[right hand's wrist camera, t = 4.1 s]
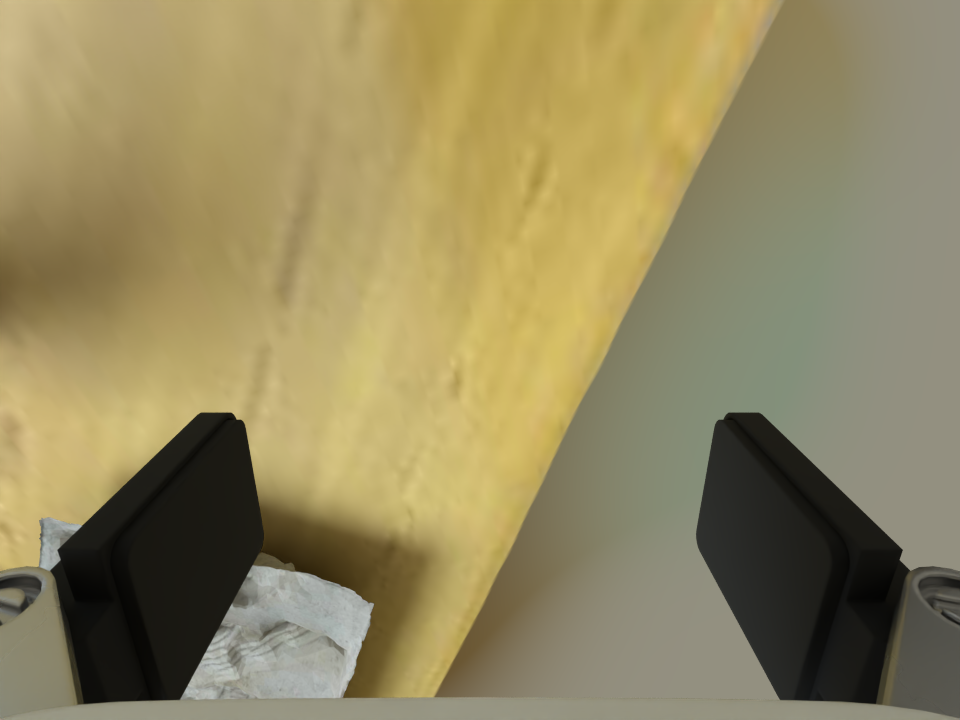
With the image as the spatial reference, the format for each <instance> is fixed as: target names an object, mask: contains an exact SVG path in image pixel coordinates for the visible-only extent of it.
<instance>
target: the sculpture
mask: <svg viewBox="0 0 960 720" xmlns="http://www.w3.org/2000/svg"><path fill="white" fill-rule="evenodd" d="M39 522H40V526H41V534H40V536H41V537H40V538H39V539H40V540H41V549H40V562H39V567H41V568H44V569H46V570H48V571H50V570H51V569H52V568H53V567H54V566H55V565H56V564H57V563H58V562H59V561H60V557H59V554H58V551H57V550H58V549H59V548H60V547H61V546H62V545H63V544H64V543H65V542H66V541H67V540H68V539H69V538H70V537H71V536H72V535H73V534H74V533H75V532H76V531H77V530H78V529H79V528H81V527H82V526H81V525H78V524H77V525H76V524H72V523H71V524H68V523H66V522H61V521H59V520H56V519H53V518H50V517H48V518H45V519H43V518H42V519H41V520H39ZM373 606H374V604H373V603H369V604H368V602H367V601H365V600H363V599H362V597H361V596H359V595H357V594H356V593H355V591H353V590H351V589H349V588H346V587H341V586H340V585H339V584H336V583H333V582H329V581H326V580H323V579H321V578H318V577H317V576H315V575H311V574H308V573H301V572H297V571H296V570H295V568H294V565H293V564H292V563H287V564H284V563H282V562H281V561H279V560H278V559H277V558H276V557H274V556H271V555H268V554H266V553H263V552H262V553H259V554H258V556H257V558H256V560H255V562H254V564H253V566H252V567H251V569H250V571H249V573H248V575H247V577H246V578H245V580H244V582H243V584H242V586H241V588H240V590H239V591H238V593H237V595H236V597H235V599H234V601H233V603H232V604H231V606H230V608H229V610H228V612H227V614H226V616H225V617H224V619H223V621H222V623H221V625H220V627H219V629H218V630H217V632H216V634H215V636H214V638H213V640H212V642H211V643H210V645H209V647H208V649H207V651H206V653H205V655H204V656H203V658H202V660H201V662H200V664H199V666H198V668H197V669H196V671H195V673H194V675H193V677H192V679H191V681H190V682H189V684H188V686H187V688H186V690H185V692H184V694H183V695H182V697H181V699H180V700H207V699H273V698H343V696H344V693H345V691H346V688H347V686H348V683H349V681H350V679H352V676H353V674H354V669H355V667H356V659H357V656H358V654H359V651H360V649H361V647H362V640H363V641H364V639H365V636H366V633H367V631H368V628H369V626H370V623H371V622H370V619H371V616H370V614H371V612H372V609H373Z"/></svg>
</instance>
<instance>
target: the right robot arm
mask: <svg viewBox="0 0 960 720" xmlns="http://www.w3.org/2000/svg"><path fill="white" fill-rule="evenodd" d="M263 539H264V531H263V525H262V519H261V513H260V507H259V502H258V496H257V490H256V485H255V479H254V473H253V467H252V462H251V456H250V450H249V444H248V439H247V433H246V428H245V424H244V422H243V421H242V420H236V417H235V416H234V414H232V413H200V414H198V415H197V416H196V417H195V418H194V419H193V420H192V421H191V422H190V423H189V424H188V425H187V426H186V427H184V428H183V429H182V430H181V431H180V432H179V433H178V434H177V435H176V436H175V437H174V438H173V439H172V440H171V441H170V442H169V443H168V444H167V445H166V446H165V447H164V448H163V449H162V450H161V451H160V452H158V453H157V454H156V455H155V456H154V457H153V458H152V459H151V460H150V461H149V462H148V463H147V464H146V465H145V466H144V467H143V468H142V469H141V470H140V471H139V472H138V473H137V474H136V475H135V476H134V477H133V478H131V479H130V480H129V481H128V482H127V483H126V484H125V485H124V486H123V487H122V488H121V489H120V490H119V491H118V492H117V493H116V494H115V495H114V496H113V497H112V498H111V499H110V500H109V501H108V502H107V503H105V504H104V505H103V506H102V507H101V508H100V509H99V510H98V511H97V512H96V513H95V514H94V515H93V516H92V517H91V518H90V519H89V520H88V521H87V522H86V523H85V524H84V525H83V526H82V527H81V528H79V529H78V530H77V531H76V532H75V533H74V534H73V535H72V536H71V537H70V538H69V539H68V540H67V541H66V542H65V543H64V544H63V545H62V546H61V547H60V548H59V549H58V550H57V551H58V554H59V557H60V561H59V562H58V563H57V564H56V565H55V566H54V567H53V568H52V569H51V570H50V571H48V570H46V569H44V568H41V567H28V566H26V567H19V568H12V569H7V570H4V571H0V720H960V571H956V570H953V569H948V568H941V567H934V566H932V567H919V568H916V569H914V570H912V571H910V570H909V569H908V568H907V567H906V566H905V565H904V564H903V563H902V562H901V561H900V557H901V554H902V551H903V550H902V549H901V548H900V547H899V546H898V545H897V544H896V543H895V542H894V541H893V540H892V539H891V538H890V537H889V536H888V535H887V534H886V533H885V532H884V531H883V530H881V528H879V527H878V526H877V525H876V524H875V523H874V522H873V521H872V520H871V519H870V518H869V517H868V516H867V515H866V514H865V513H864V512H863V511H862V510H861V509H860V508H859V507H858V506H857V505H856V504H854V503H853V502H852V501H851V500H850V499H849V498H848V497H847V496H846V495H845V494H844V493H843V492H842V491H841V490H840V489H839V488H838V487H837V486H836V485H835V484H834V483H833V482H832V481H831V480H830V479H828V478H827V477H826V476H825V475H824V474H823V473H822V472H821V471H820V470H819V469H818V468H817V467H816V466H815V465H814V464H813V463H812V462H811V461H810V460H809V459H808V458H807V457H806V456H805V455H804V454H803V453H802V452H800V451H799V450H798V449H797V448H796V447H795V446H794V445H793V444H792V443H791V442H790V441H789V440H788V439H787V438H786V437H785V436H784V435H783V434H782V433H781V432H780V431H779V430H778V429H777V428H776V427H774V426H773V425H772V424H771V423H770V422H769V421H768V420H767V419H766V418H765V417H764V416H763V415H762V414H760V413H728V414H726V416H725V417H724V420H718V421H717V422H716V424H715V428H714V433H713V439H712V445H711V450H710V456H709V462H708V467H707V473H706V479H705V485H704V490H703V496H702V502H701V508H700V513H699V519H698V525H697V531H696V539H697V545H698V548H699V550H700V552H701V554H702V556H703V558H704V560H705V562H706V564H707V565H708V567H709V569H710V571H711V573H712V575H713V577H714V578H715V580H716V582H717V584H718V586H719V588H720V590H721V591H722V593H723V595H724V597H725V599H726V601H727V603H728V604H729V606H730V608H731V610H732V612H733V614H734V616H735V617H736V619H737V621H738V623H739V625H740V627H741V629H742V630H743V632H744V634H745V636H746V638H747V640H748V642H749V643H750V645H751V647H752V649H753V651H754V653H755V655H756V656H757V658H758V660H759V662H760V664H761V666H762V667H763V669H764V671H765V673H766V675H767V677H768V679H769V681H770V682H771V684H772V686H773V688H774V690H775V692H776V694H777V695H778V697H779V699H780V700H753V699H687V698H686V699H685V698H514V697H511V698H510V697H449V698H447V697H446V698H273V699H207V700H180V699H181V697H182V695H183V694H184V692H185V690H186V688H187V686H188V684H189V682H190V681H191V679H192V677H193V675H194V673H195V671H196V669H197V668H198V666H199V664H200V662H201V660H202V658H203V656H204V655H205V653H206V651H207V649H208V647H209V645H210V643H211V642H212V640H213V638H214V636H215V634H216V632H217V630H218V629H219V627H220V625H221V623H222V621H223V619H224V617H225V616H226V614H227V612H228V610H229V608H230V606H231V604H232V603H233V601H234V599H235V597H236V595H237V593H238V591H239V590H240V588H241V586H242V584H243V582H244V580H245V578H246V577H247V575H248V573H249V571H250V569H251V567H252V566H253V564H254V562H255V560H256V558H257V556H258V554H259V553H260V550H261V548H262V545H263Z"/></svg>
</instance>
